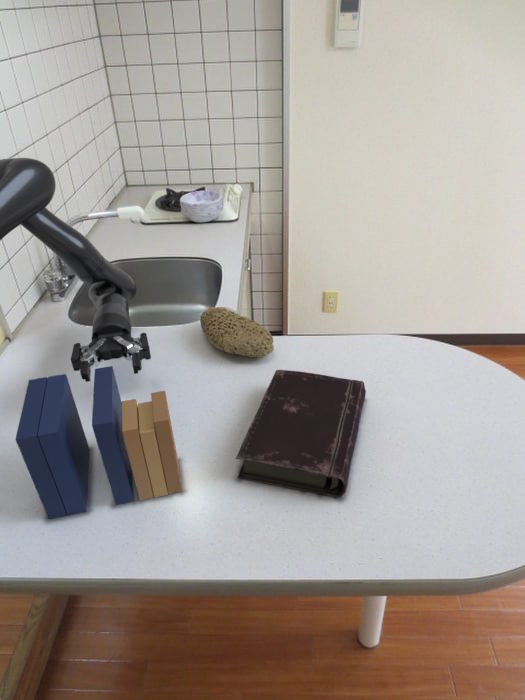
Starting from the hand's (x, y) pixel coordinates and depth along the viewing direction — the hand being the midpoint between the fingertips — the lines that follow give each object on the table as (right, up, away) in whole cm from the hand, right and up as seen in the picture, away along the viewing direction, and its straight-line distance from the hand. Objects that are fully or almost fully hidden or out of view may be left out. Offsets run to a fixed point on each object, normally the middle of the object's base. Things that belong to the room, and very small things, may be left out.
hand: (111, 373), depth 94 cm
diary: (+35, -11, +1) cm, 36 cm away
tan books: (+10, -17, -6) cm, 21 cm away
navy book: (+3, -16, -5) cm, 17 cm away
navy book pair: (-5, -18, -6) cm, 19 cm away
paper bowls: (+6, +52, +96) cm, 109 cm away
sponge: (+21, +5, +27) cm, 34 cm away
